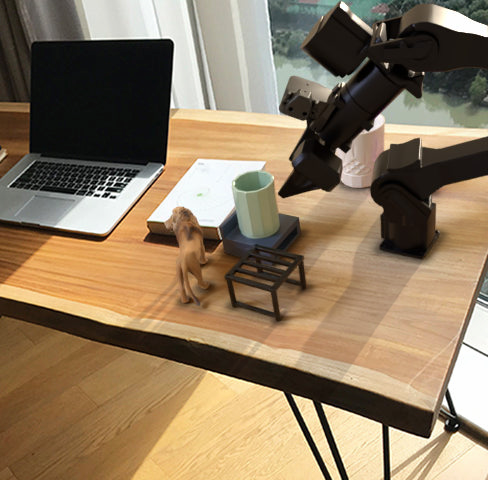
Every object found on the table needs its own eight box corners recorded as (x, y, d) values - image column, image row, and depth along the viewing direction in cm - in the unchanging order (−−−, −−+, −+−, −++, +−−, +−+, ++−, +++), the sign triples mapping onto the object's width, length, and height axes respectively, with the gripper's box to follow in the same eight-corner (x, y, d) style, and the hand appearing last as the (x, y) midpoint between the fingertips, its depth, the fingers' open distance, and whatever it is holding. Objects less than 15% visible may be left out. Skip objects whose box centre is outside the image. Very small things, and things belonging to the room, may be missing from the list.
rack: (307, 286, 94) (304, 255, 91) (279, 322, 90) (273, 290, 86) (260, 273, 98) (254, 243, 95) (230, 306, 94) (223, 276, 91)
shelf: (301, 233, 104) (297, 205, 101) (272, 265, 99) (267, 238, 96) (254, 222, 109) (249, 196, 106) (224, 253, 104) (218, 226, 101)
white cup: (387, 188, 108) (385, 131, 102) (336, 192, 110) (332, 136, 104) (385, 163, 114) (384, 107, 108) (337, 167, 116) (333, 113, 110)
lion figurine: (173, 254, 107) (159, 205, 101) (206, 246, 106) (194, 197, 101) (182, 313, 95) (168, 262, 90) (219, 304, 95) (207, 253, 89)
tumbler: (287, 220, 102) (281, 173, 97) (266, 242, 99) (259, 195, 94) (253, 212, 105) (246, 167, 100) (232, 234, 102) (223, 188, 97)
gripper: (323, 29, 90) (253, 112, 100) (302, 91, 76) (224, 179, 87) (386, 81, 92) (312, 157, 102) (376, 150, 79) (292, 229, 89)
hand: (285, 177), depth 95 cm, fingers open, 9 cm apart
